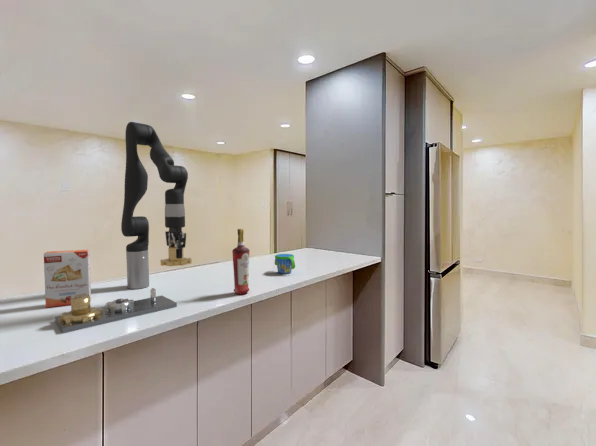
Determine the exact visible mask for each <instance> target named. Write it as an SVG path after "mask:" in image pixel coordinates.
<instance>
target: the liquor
mask: <svg viewBox="0 0 596 446" xmlns="http://www.w3.org/2000/svg"><path fill="white" fill-rule="evenodd" d="M244 234H245V230H244V228H237V246H236V247H234V248H233V249H232V267H233V281H234V283H233V284H234V289H233V292H234V293H235V294H236V295H246V294H247V293H248V292H249V291H250V287H249V281H250V280H249V270H250V249H249V248H248V247H246V246H245V241H244V236H245V235H244Z"/></svg>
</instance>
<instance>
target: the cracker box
mask: <svg viewBox="0 0 596 446" xmlns="http://www.w3.org/2000/svg"><path fill="white" fill-rule="evenodd" d="M90 257H91V255H90V249H75V250H74V249H72V250H51V251H46V252H44V253H43V270H44V271H43V272H44V297H45V308H47V309H48V308H55V307H63V306H71V299H72V298H75V297H79V296H90V301H91V300H92V285H91V282H92V281H91V260H90V259H91V258H90Z"/></svg>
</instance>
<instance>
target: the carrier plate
mask: <svg viewBox="0 0 596 446" xmlns="http://www.w3.org/2000/svg"><path fill="white" fill-rule="evenodd" d="M149 292H150V297H148V298H143V299H137V300H134V299H129V298H118V299H115V300H113V301H108V302H106V303H105V305H104V306H102V307H97V308H96V307H95V306H91V300H90V296H79V297H75V298H72V299H71V305H70V309H71V310H70V311H67V312H62V313H61V315H59V316H54V318H55V323H56V324H57V327H58V328H59V329H60V332H61V333H62V334H65V333H66V334H67V333H70V332H74V331H79V330H82V329H87V328H92V327H96V326H100V325H104V324H108V323H113V322H117V321H121V320H126V319H130V318H133V317H138V316H143V315H147V314H152V313H155V312H160V311H164V310H170V309H173V308H177V306H178V303H177V301H175V300H173V299H171V298H168V297H167V296H164V295H157V293H156V288H155V287H153V288H151V289H150V291H149Z"/></svg>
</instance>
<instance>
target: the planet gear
mask: <svg viewBox="0 0 596 446" xmlns="http://www.w3.org/2000/svg"><path fill="white" fill-rule="evenodd" d="M167 250H168V252H167V253H168V258H164V259H160V266H163V267H164V266H166V267H175V266H186V265H188V264H192V263H193V261H192V258H191V257H185V256H184V248H183V249H182V258H180V259H177V258H176V247H169V246H168V249H167Z"/></svg>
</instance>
